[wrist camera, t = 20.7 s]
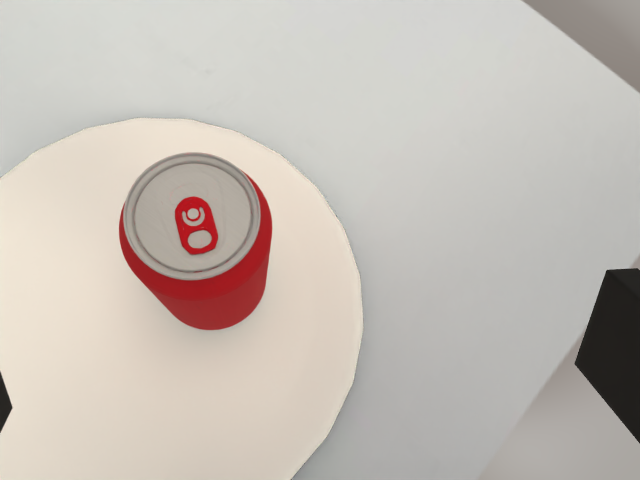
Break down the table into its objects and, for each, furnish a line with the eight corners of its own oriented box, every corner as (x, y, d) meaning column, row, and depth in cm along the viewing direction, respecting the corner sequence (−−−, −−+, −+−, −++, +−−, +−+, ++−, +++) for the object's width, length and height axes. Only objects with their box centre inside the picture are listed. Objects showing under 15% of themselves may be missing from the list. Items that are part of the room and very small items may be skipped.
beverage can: (250, 219, 33) (251, 125, 22) (277, 314, 31) (294, 267, 20) (149, 244, 32) (93, 158, 20) (173, 345, 30) (127, 312, 19)
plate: (65, 71, 36) (59, 59, 34) (409, 205, 36) (414, 198, 35) (-167, 443, 28) (-186, 445, 27) (275, 609, 28) (276, 619, 27)
